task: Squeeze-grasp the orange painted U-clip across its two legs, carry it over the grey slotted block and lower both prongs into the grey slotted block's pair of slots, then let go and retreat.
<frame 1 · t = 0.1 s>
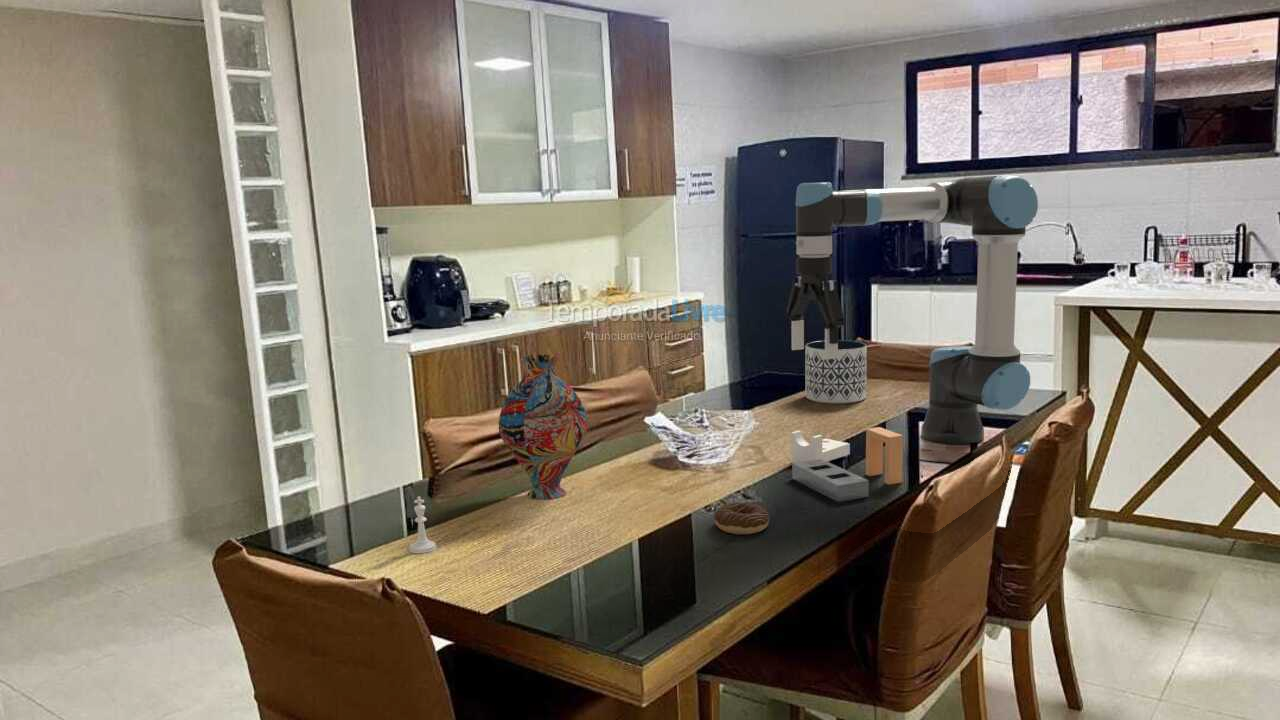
hand: (814, 354, 208), 28 cm above the table, fingers open, 13 cm apart
donut: (741, 528, 183), on the table
grey slotted block: (829, 487, 205), on the table
bracket: (820, 461, 226), on the table
planter: (835, 398, 291), on the table
chess piece: (422, 549, 177), on the table
vase: (546, 494, 207), on the table
clip: (883, 478, 210), on the table
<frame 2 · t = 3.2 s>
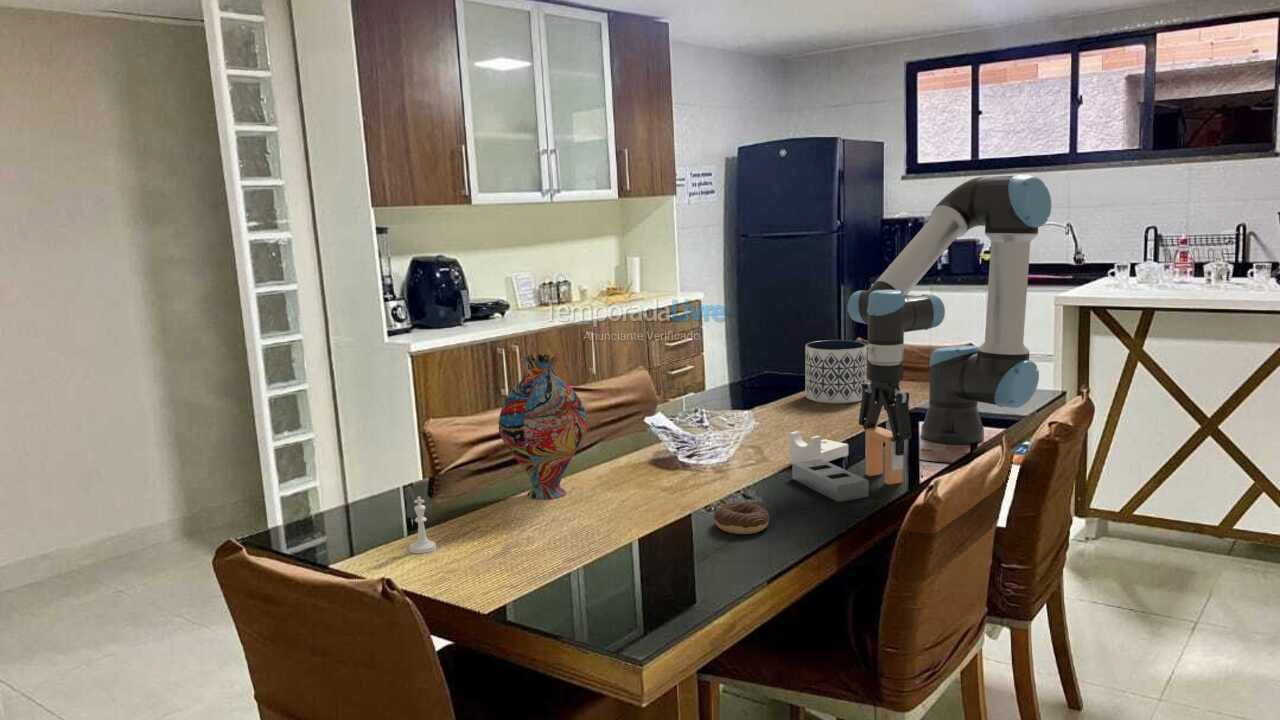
hand: (883, 463, 210), 3 cm above the table, fingers closed on clip, 8 cm apart
clip: (883, 478, 210), on the table, touching gripper
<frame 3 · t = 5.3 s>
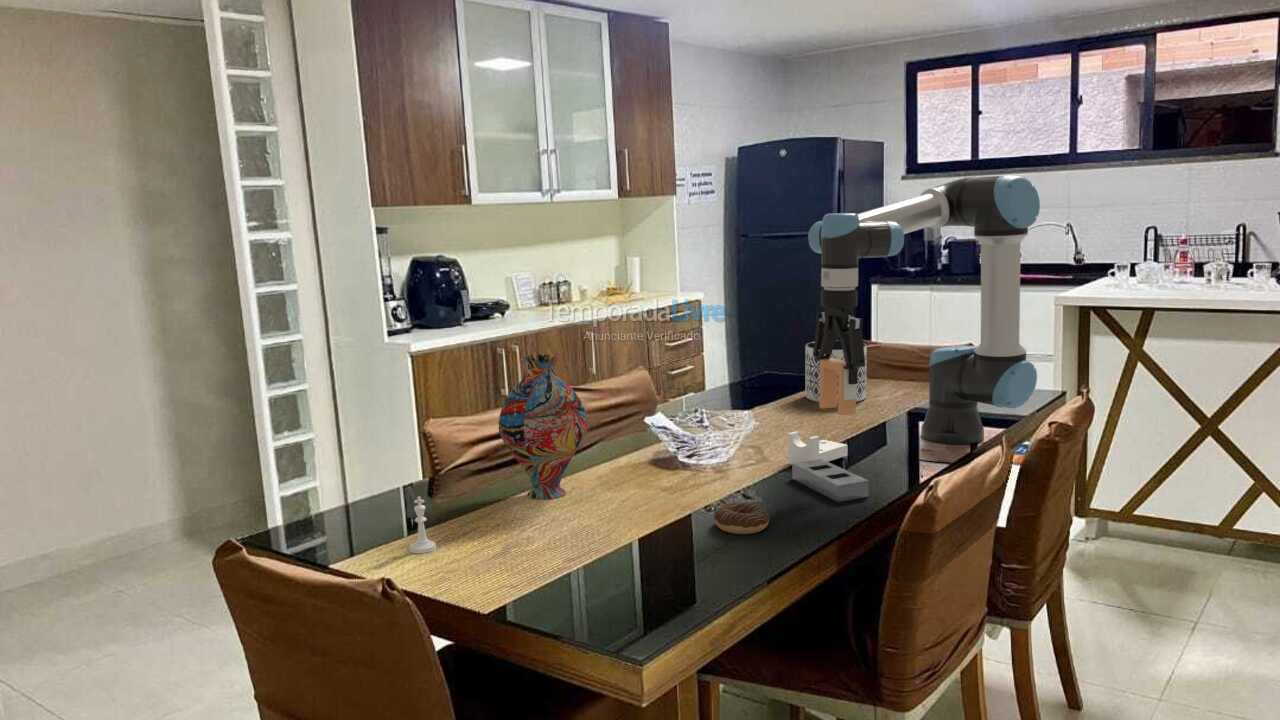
hand: (837, 395, 202), 20 cm above the table, fingers closed on clip, 8 cm apart
clip: (837, 410, 203), point 17 cm above the table, touching gripper
when the fingers open (5 cm above the table, at t = 7.8 s): clip stays where it is, resting on grey slotted block.
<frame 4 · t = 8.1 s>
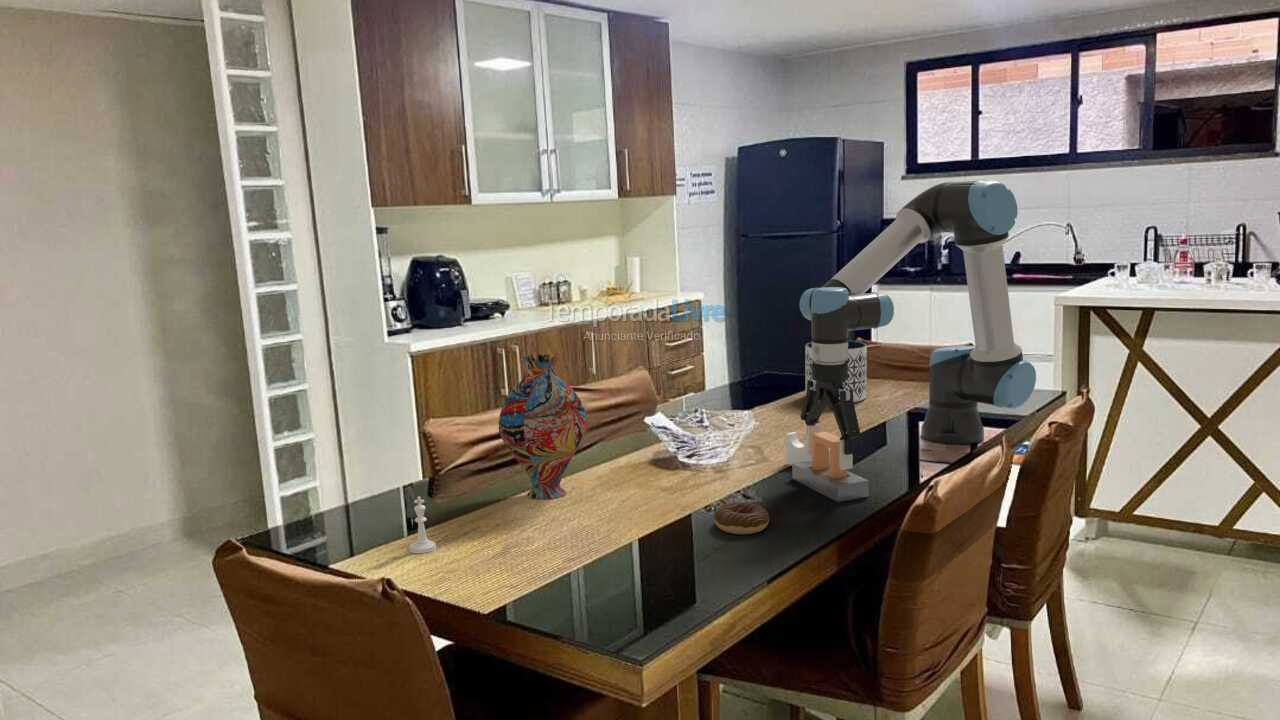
hand: (829, 461, 204), 6 cm above the table, fingers open, 12 cm apart
clip: (829, 484, 205), point 1 cm above the table, touching grey slotted block
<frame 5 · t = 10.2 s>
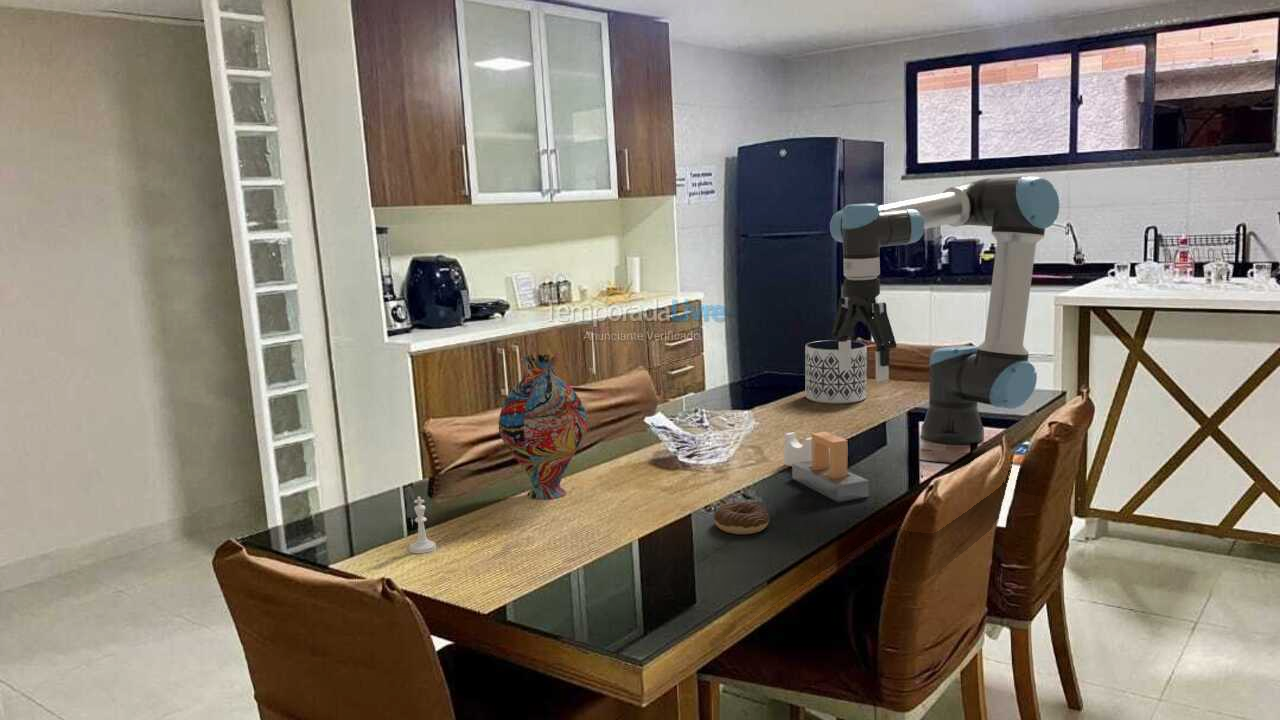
hand: (863, 375, 207), 23 cm above the table, fingers open, 13 cm apart
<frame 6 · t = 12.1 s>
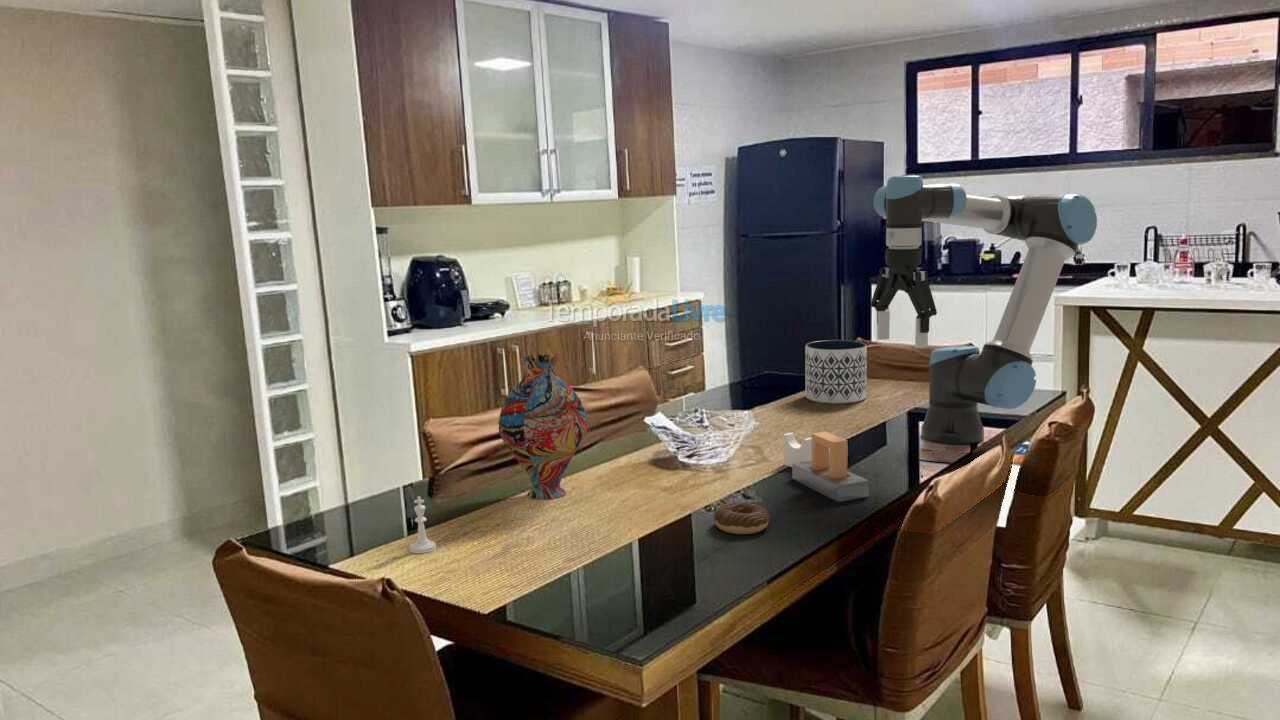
hand: (901, 343, 213), 29 cm above the table, fingers open, 13 cm apart
at the end: clip 0.0 cm off-centre on the grey slotted block, point 0.7 cm above the grey slotted block's base; clip tilted 0°; the gripper is holding nothing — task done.
